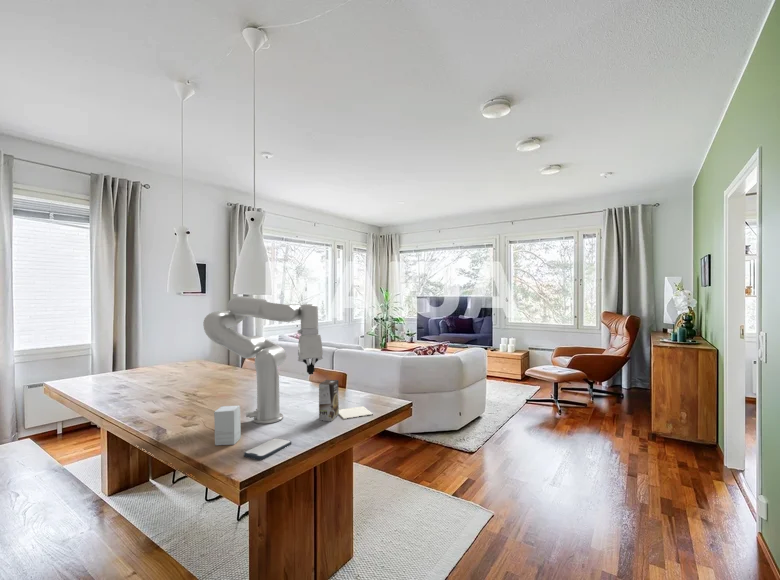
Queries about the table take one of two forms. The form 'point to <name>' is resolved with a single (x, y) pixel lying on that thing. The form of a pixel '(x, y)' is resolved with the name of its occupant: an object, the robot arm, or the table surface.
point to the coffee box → (328, 400)
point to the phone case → (267, 449)
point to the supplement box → (227, 425)
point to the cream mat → (354, 412)
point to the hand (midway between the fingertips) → (310, 373)
